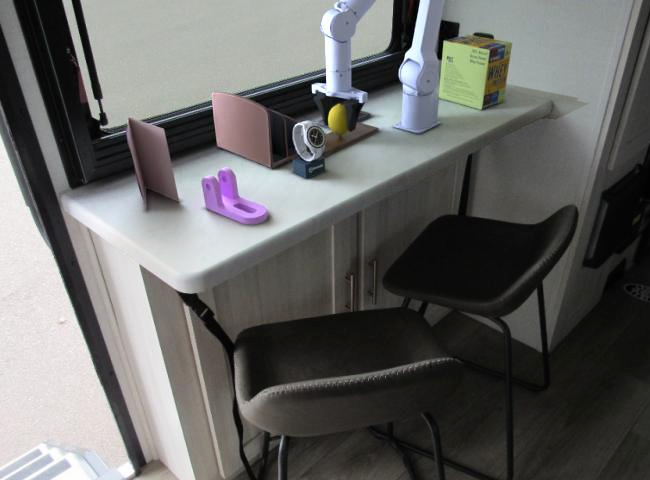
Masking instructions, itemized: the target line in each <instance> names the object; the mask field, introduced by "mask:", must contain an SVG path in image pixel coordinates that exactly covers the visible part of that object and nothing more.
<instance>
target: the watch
mask: <svg viewBox="0 0 650 480" xmlns="http://www.w3.org/2000/svg"><path fill="white" fill-rule="evenodd" d="M302 131H303V135H302ZM326 134H327V133H326V132H325V131H324V129H323V128H322V127H321V126H320V125H318V124H316V123H315V122H312V121H311V120H304V121H301V122H298V124H296V125H295V126H294V128H293V142H294V145H295V148H296V150H297V153H298V154H299V155H300V157H297V158H295V159H293V160H292V173H293V174H294V175H297V176H298V177H301V178H303V179H305V180H308V179H311V178H312V177H314V176H317V175H320V174H322V173H324V172H326V158H325V156H323V155H322V153H323V150H324V147H325V142H326ZM305 143H306V145H307V146H308V147H309V148H310V150H311V151H310V153H309V152H308V150H307V148H306V146H305Z"/></svg>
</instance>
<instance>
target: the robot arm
mask: <svg viewBox="0 0 650 480" xmlns="http://www.w3.org/2000/svg"><path fill="white" fill-rule="evenodd" d="M376 1H377V0H339V1H336V2H335V3H334V5H333V6H334V8H332V9H329V10H327V11H326V12H325V14H323V16H322V21H321V23H320V24H319V27H320V30H321V32H322V34H323V35H324V42H325V43H324V44H325V48H324V50H325V74H326V75H325V76H326V77H325V78H326V83H322V82H321V83H320V82H316V83H313V84H311V92H312V94H316V96H314V97H313V101H314V102H315V104H316V106H317V108H318V110H319V112H320V114H321V117H322V119H323V121H324V125H325V126H328V125H329V124H328V116H329V112H330V110H331V109H332V108H333V103H334V97H335V98H340V99H346V100H349V101H346V102H345V103H344V106H345V108H346V112H347V119H348V131H349V132H352V131H353V130H355V129H356V124H357V120H358V117H359V114H360V111H362V109H363V107H364V106H365V104H366V102H368V92H366V91H363V90H360V89H357V88H355V87H353V86H352V38H353V37H354V36H355V34H356V29H357V25H358V23H359V22H360V21H361V20H362V18H363V17H364V16H365V15H366V13H367V12H368V11H369V10H370V9H371V8H372V6H373V5H374V4H375V3H376ZM445 1H446V0H419V6H418V12H417V17H416V21H415V27H414V33H413V38H412V44H411V47H410V48H409V49H408V50H407V51H406V52H405V54H404V59H403V61H402V63H401V64H400V67H399V69H398V78H399V81H400V82H401V83H402V104H401V121H400V122H398V123H396V124H394V125H393V126H394V128H397V129H400V130H403V131H406V132H407V131H408V132H410V133H415V134H418V135H419V134H422V133H424V132H427V131H429V130H430V129H433V128H434V127H437V126H438V125H441V121H439V120H438V116H439V105H440V98H439V92H438V91H437V90H436V89H437V87H438V85H439V83H440V74H439V66H440V60H439V59H438V56H437V53H436V51H435V50H436V46H437V41H438V36H439V31H440V27H441V21H442V18H443V17H442V16H443V12H444V6H445ZM325 126H324V127H325Z"/></svg>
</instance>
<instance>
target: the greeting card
mask: <svg viewBox="0 0 650 480" xmlns="http://www.w3.org/2000/svg"><path fill="white" fill-rule="evenodd" d="M124 128H125V129H124V130H125V135H126V139H127V140H126V141H127V145H128V148H129V150H130V153H131V156H132V161H133V165H134V171H135V176H136V177H135V178H136V181H137V186H138V190H139V193H140V195H141V198H142V201H143V204H144V209H145V210H147V194H146V188H147V189H149V190H151V191H154V192H156V193H158V194H161V195H163V196H166V197H167V198H170V199H172V200H175V201H177V202H180V199H179V193H178V189H177V184H176V180H175V173H174V170H173V165H172V161H171V160H172V159H171V157H170V156H171V155H170V151H169V146H168V141H167V137H166V132H165V128H162V127H160V126H157V125H153V124H151V123H147V122H145V121H142V120H139V119H136V118H133V117H130V116H127V126H124Z"/></svg>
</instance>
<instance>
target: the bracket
mask: <svg viewBox="0 0 650 480" xmlns="http://www.w3.org/2000/svg"><path fill="white" fill-rule="evenodd" d="M201 187H202V194H203V200H204V206H205V209H207V210H210V211H211V212H214V213H216V214H219V215H221V216H224V217H227V218H228V219H231V220H234V221H236V222H239V223H241V224H243V225H258V224H261V223H264V222H265V221H266V220H268V210H267V207H266V206H265V205H263V204H261V203H258V202H255V201H252V200H250V199H247V198H245V197H241V196H240V195H239V189H238V182H237V177H236V173H235V172H234V171H233V169H231V168H229V167H223V168H222V169H220V170H219V171H217V178H216V177H215V175H212V174H209V175H207V176H205V177H203V178H202V179H201Z"/></svg>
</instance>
